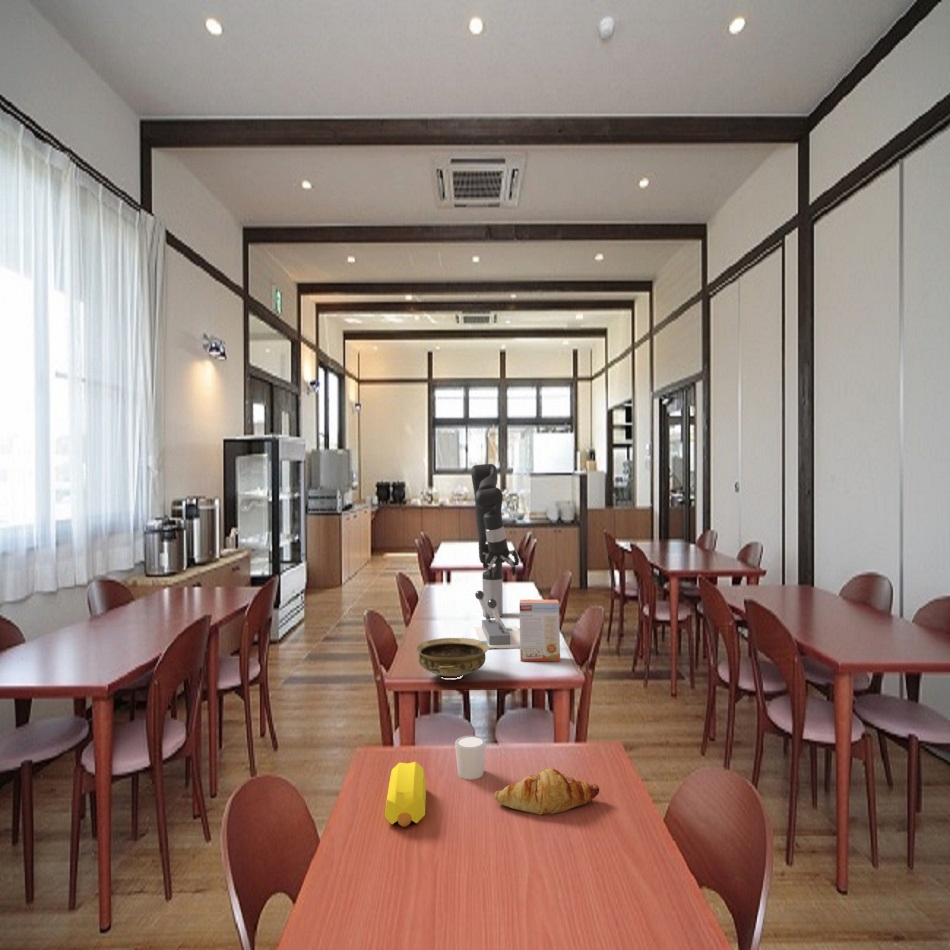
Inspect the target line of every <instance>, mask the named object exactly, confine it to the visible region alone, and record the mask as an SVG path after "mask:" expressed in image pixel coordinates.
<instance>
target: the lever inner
mask: <svg viewBox="0 0 950 950" xmlns="http://www.w3.org/2000/svg"><path fill="white" fill-rule="evenodd" d="M474 596H475V598H476V599H477V600H478V602H479V604H480V606H481V609H482V613H483V612H484V615H485V616H484V618H485V620H488V622H490V621H491V620H492V619H491V618H492V617H490V614H489V612H488V609H487V606H486V604H485V601H484V598H483V597H484V593H483V590H477V591H476V592H475V595H474Z"/></svg>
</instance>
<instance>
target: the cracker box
mask: <svg viewBox="0 0 950 950" xmlns="http://www.w3.org/2000/svg"><path fill="white" fill-rule="evenodd" d="M560 628H561V627H560V601H559V599H520V600H519V630H520V648H519V649H520V650H519V652H520V653H519V654H520V656H519V657H520V662H561V637H560V633H561V631H560Z"/></svg>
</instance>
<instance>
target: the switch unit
mask: <svg viewBox="0 0 950 950" xmlns="http://www.w3.org/2000/svg"><path fill="white" fill-rule="evenodd" d="M502 624H503V626H504V633H502V632H501V630H499V628H498V625H497V622H496V620H495V619H491V621H490V622H488V620H486V619H481V626H480V627H474V632H475V631H476V632H475V634H477V635H476V637H477V636H478V637H477V640H478V639H479V640H480V641H482V642H484V643H486V644H488V646H489V649H488V650H491V649H490V648H510V649H520V628H518V626H517V625H505V624H504V622H503V621H502Z"/></svg>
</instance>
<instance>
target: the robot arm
mask: <svg viewBox="0 0 950 950" xmlns="http://www.w3.org/2000/svg"><path fill="white" fill-rule="evenodd" d="M471 481H472V488H473V495H474V503H475V504H474V505H475V519H476V527H477V533H478V534H477V537H478V558H479V562H480V563H481V564H482V567H483V569H487V570H486V571H485V570H484V571H483V572H482V592H483V593H484V597H483V598H484V601H485V604H486V606H487V609H488V612H489V614H490V617H491V618H495V617H494V614H493V612H492V609H491V608H489V607H488V601H489V600H490V599H494V600H496V602H497V606H496V608H497V610H498V613H499V616H501V617H503V616H502V615H504V604H503V602H504V600H503V599H504V597H503V590H504V589H503V563H506V564H508V565H509V566H510V569H511V574H512V575H511V576H512V577H514V576H516V574H517V568H516V566H519V565H520V559H519V555H518V550H517V549H516V548H514V549H512V550H510V549H509V546H508V541H507V535H506V530H505V527H504V524H503V523H504V521H503V515H502V514H503V513H502V507H503V497H504V495H503V494H504V493H503V491H502V490H501V489H500V488H499V487H497V486H498V485H497V484H498V471H497V467H496V465H495V464H493V463H486V464H485V463H484V464H483V463H482V464H475V465H473V466H472V467H471ZM486 542H487V543H486ZM510 555H511V557H513V559H514V560H512V558H511V557H510ZM493 565H495V566H494V567H493ZM482 616H483V617H485V615H484V612H483V611H482Z"/></svg>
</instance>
